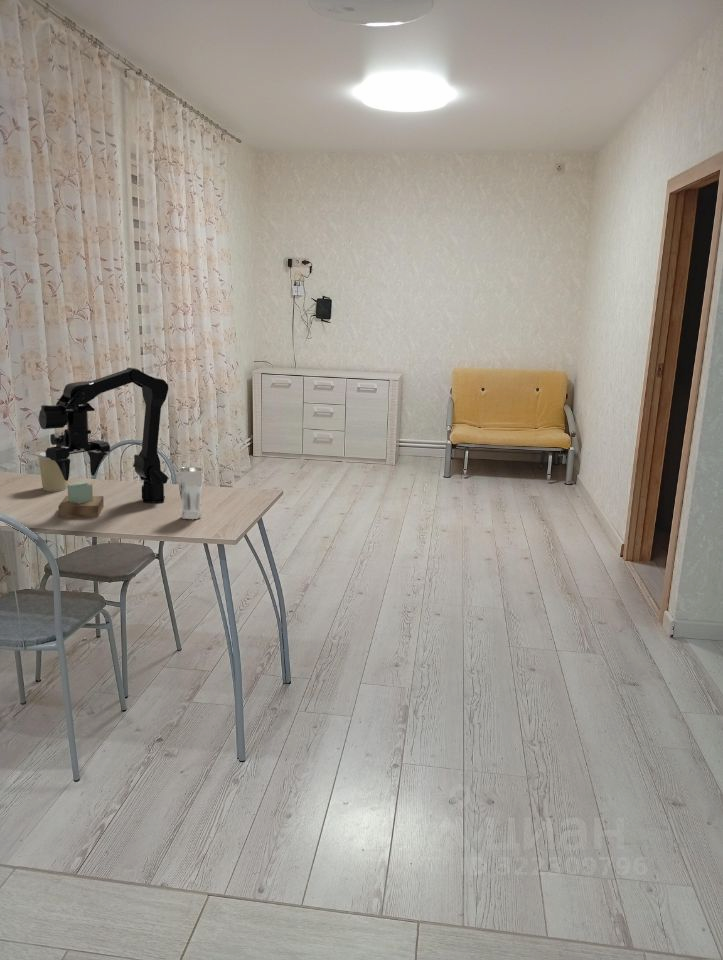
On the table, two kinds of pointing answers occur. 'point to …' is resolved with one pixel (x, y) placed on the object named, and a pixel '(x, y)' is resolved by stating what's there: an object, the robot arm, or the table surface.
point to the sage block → (80, 492)
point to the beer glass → (190, 491)
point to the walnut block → (81, 508)
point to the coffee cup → (51, 474)
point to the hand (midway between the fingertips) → (79, 477)
